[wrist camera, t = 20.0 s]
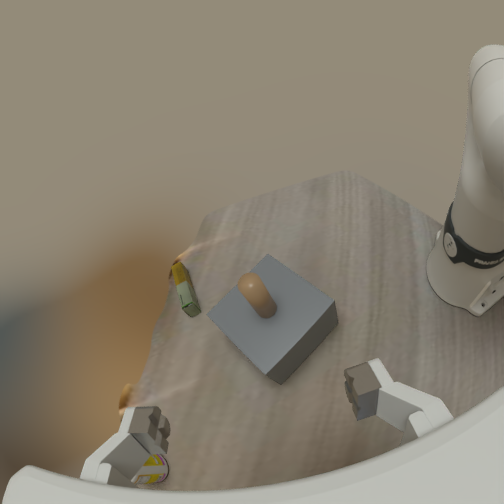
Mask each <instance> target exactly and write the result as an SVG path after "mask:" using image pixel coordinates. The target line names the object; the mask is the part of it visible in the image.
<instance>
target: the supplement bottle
mask: <svg viewBox="0 0 504 504" xmlns="http://www.w3.org/2000/svg"><path fill="white" fill-rule="evenodd" d="M150 455H151V456H150V457H149V458H148V460H147V461H146V462H145V463H144V465H143V466H142V467H141V469H140V470H139V471H138V472H137V474H136V475H135V476H134V478H133V479H132V480H131V482H133V483H134V484H135V485H137V484H148V483H157V482H160V481H162V480H164V479H165V478H166V476H167V473H168V466H167V463H166V461H165V459H164V458H163V457H162V456H161V455H160V454H150Z"/></svg>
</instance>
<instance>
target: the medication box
mask: <svg viewBox="0 0 504 504" xmlns="http://www.w3.org/2000/svg"><path fill="white" fill-rule="evenodd" d="M171 269H172V273H173V277H174V280H175V284H176V288H177V292H178V296H179V299H180V303H181V306H182V309H183V310H184V311H185V312H186V313H187V314H188V315H189V316H190V317H194V316H196V315H198V314H199V313H201V310H200V307H199V304H198V301H197V298H196V295H195V292H194V289H193V286H192V282H191V279H190V276H189V273H188V270H187V269H186V267H185V266H184V265H183V264H182V263H181V262H179V263H177V264H175V265H173V266H172V267H171Z"/></svg>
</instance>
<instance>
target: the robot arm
mask: <svg viewBox="0 0 504 504" xmlns="http://www.w3.org/2000/svg"><path fill="white" fill-rule="evenodd" d="M468 81H469V83H468V109H467V124H466V134H465V143H464V151H463V159H462V166H461V172H460V177H459V181H458V185H457V190H456V194H455V198H454V201H453V203H452V204H451V206H450V208H449V210H448V213H447V218H446V221H445V223H444V225H443V227H442V230H440V231H438V233H437V235H436V239H435V246H434V248H433V249H432V251H431V252H430V254H429V256H428V260H427V265H426V270H427V276H428V280H429V282H430V285H431V286H432V288H433V290H434V291H435V292H436V294H437V295H438V296H439V297H440V298H441V299H443V300H444V301H446V302H447V303H449V304H451V305H454V306H457V307H461V308H465V309H467V310H468V311H469V312H470V313H472V314H473V315H475V316H481V315H482V314H484V313H485V312H486V311H487V310H488V309H490V308H491V307H492V306H493V305H494V304H495V303H496V302H498V301H499V300H500V299H501V298H502V297H503V296H504V46H502V45H493V44H492V45H487V46H484V47H482V48H481V49H479V50H478V51H477V52H476V54H475V55H474V57H473V59H472V61H471V63H470V67H469V80H468ZM481 304H483V305H484V307H482V305H481ZM344 376H345V378H346V381H345V390H346V394H347V397H348V400H349V402H350V403H352V410H353V412H354V414H355V417H356V419H357V421H358V420H361V419H364V418H367V417H370V416H373V415H376V416H378V417H380V418H381V419H383V420H384V421H386V422H387V423H389V424H391V425H392V426H394V427H396V428H397V429H399V430H400V431H402V432H404V435H403V438H402V440H401V443H400V447H398V448H395V449H393V450H390V451H388V452H386V453H383V454H381V455H378V456H375V457H373V458H370V459H367V460H364V461H362V462H359V463H356V464H353V465H350V466H346V467H343V468H340V469H337V470H333V471H329V472H326V473H322V474H318V475H314V476H310V477H306V478H301V479H297V480H292V481H287V482H281V483H276V484H269V485H263V486H255V487H247V488H238V489H226V490H208V491H167V490H150V489H139V487H138V486H137V485H135V484H134V483H133V482H131V480H132V479H133V478H134V476H135V475H136V474H137V472H138V471H139V470H140V469H141V467H142V466H143V465H144V463H145V462H146V461H147V460H148V458H149V457H150V456H151V455H150V454H167V449H168V441H167V440H166V439H167V438H168V436H169V435H170V424H169V421H168V419H167V418H166V417H165V416H163V415H161V410H160V409H159V407H158V406H150V407H128V408H127V409H126V410H125V413H124V416H123V419H122V422H121V426H120V429H119V432H118V433H115V434H114V435H113V436H112V437H111V438H110V439H109V440H107V441H106V442H105V443H104V444H103V445H102V446H101V447H100V448H99V449H97V450H96V451H95V452H94V453H93V454H92V455H91V456H90V457H88V458H87V459H86V461H85V464H84V467H83V470H82V473H81V476H80V479H78V478H74V477H70V476H66V475H62V474H58V473H55V472H51V471H48V470H44V469H41V468H38V467H36V466H32V465H27V466H25V467H24V468H22V469H21V470H20V471H18V472H17V473H16V474H15V475H14V476H12V478H11V479H10V481H9V483H8V485H7V489H6V492H5V495H4V498H3V502H2V504H504V385H503V386H502V387H500V388H499V389H498V390H497V391H495V392H494V393H492V394H491V395H490V396H488V397H487V398H485V399H484V400H483V401H481V402H480V403H478V404H477V405H475V406H474V407H472V408H471V409H469V410H468V411H466V412H464V413H463V414H461V415H459V416H458V417H456V418H455V419H454V418H453V416H452V415H451V413H450V412H449V410H448V409H447V407H446V406H445V405H444V403H443V402H442V400H441V399H439V398H437V397H434V396H432V395H429V394H427V393H424V392H422V391H419V390H417V389H414V388H412V387H409V386H407V385H405V384H402V383H400V382H395V383H394V381H393V380H392V378H391V377H390V375H389V373H388V372H387V370H386V369H385V367H384V365H383V364H382V362H381V361H380V359H378V358H376V359H373V360H371V361H368V362H365V363H362V364H359V365H356V366H353V367H350V368H347V369H345V370H344Z"/></svg>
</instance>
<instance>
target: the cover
mask: <svg viewBox="0 0 504 504" xmlns="http://www.w3.org/2000/svg"><path fill="white" fill-rule="evenodd" d="M207 315H208V317H209V318H210V319H211V320H212V321H213V322H214V323H215V324H216V325H217V326H218V327H219V328H220V329H221V330H222V332H223V333H224V334H225V335H226V336H227V337H228V338H229V339H230V340H231V341H232V342H233V343H234V344H235V345H236V346H237V347H238V348H239V349H240V350H241V351H242V352H243V353H244V354H245V355H246V356H247V357H248V358H249V359H250V360H251V361H252V362H253V363H254V364H255V365H256V366H257V367H258V368H259V369H260V370H261V371H262V372H263V373H264V374H265V375H266V376H268V377H269V378H271V379H273V380H274V381H276V382H277V383H279V384H280V385H281V384H282V383H283V382H284V381H285V380H286V379H287V378H288V377H289V376H290V375H291V374H292V373H293V372H294V371H295V370H296V369H297V368H298V367H299V366H300V365H301V364H302V363H303V362H304V360H305V359H306V358H307V357H308V356H309V355H310V354H311V353H312V352H313V351H314V350H315V349H316V348H317V346H318V345H319V344H320V343H321V342H322V341H323V340H324V339H325V338H326V336H327V335H328V334H329V333H330V332H331V331H332V330H333V328H334V327H335V326H336V325H337V324H338V318H337V312H336V306H335V301H334V300H333V299H332V298H330V297H329V296H327V295H326V294H325V293H323V292H322V291H320V290H319V289H317V288H316V287H315V286H313V285H312V284H310V283H309V282H308V281H306V280H305V279H303V278H302V277H300V276H299V275H298V274H296V273H295V272H293V271H292V270H290V269H289V268H288V267H286V266H285V265H283V264H282V263H280V262H279V261H278V260H276V259H275V258H273V257H272V256H270V255H269V254H267V255H266V256H265V257H264V258H263V259H262V260H261V261H260V262H259V263H258V264H257V265H256V266H255V267H254V268H253V269H252V270H251V271H250V272H249V273H246V274H244V275H243V276H242V277H241V278H240V279H239V281H238V284H237V285H236V286H235V287H234V288H233V289H232V290H231V291H230V292H229V293H228V294H227V295H226V296H225V297H224V298H223V299H222V300H221V301H220V302H219V303H218V304H217V305H216V306H215V307H214V308H213V309H212V310H211V311H209V312H208V313H207Z"/></svg>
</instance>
